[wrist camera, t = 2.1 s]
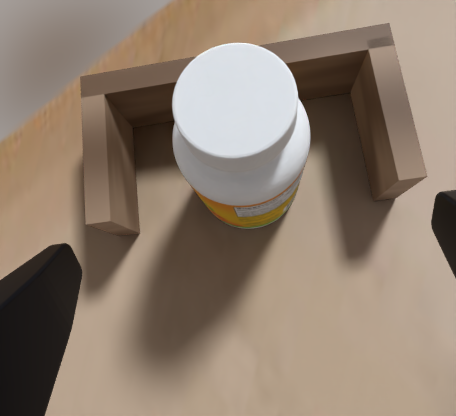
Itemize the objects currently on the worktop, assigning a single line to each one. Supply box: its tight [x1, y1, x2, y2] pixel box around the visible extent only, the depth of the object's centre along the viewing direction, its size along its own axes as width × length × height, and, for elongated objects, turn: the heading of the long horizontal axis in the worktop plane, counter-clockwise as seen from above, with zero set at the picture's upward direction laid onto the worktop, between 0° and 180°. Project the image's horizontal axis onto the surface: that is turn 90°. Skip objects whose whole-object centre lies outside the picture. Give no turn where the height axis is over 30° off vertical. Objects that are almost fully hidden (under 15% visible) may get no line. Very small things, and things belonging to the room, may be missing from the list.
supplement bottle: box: [172, 43, 310, 229], centre depth 16 cm, size 5×5×10 cm
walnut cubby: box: [80, 23, 427, 236], centre depth 19 cm, size 8×15×4 cm, turn 97°
